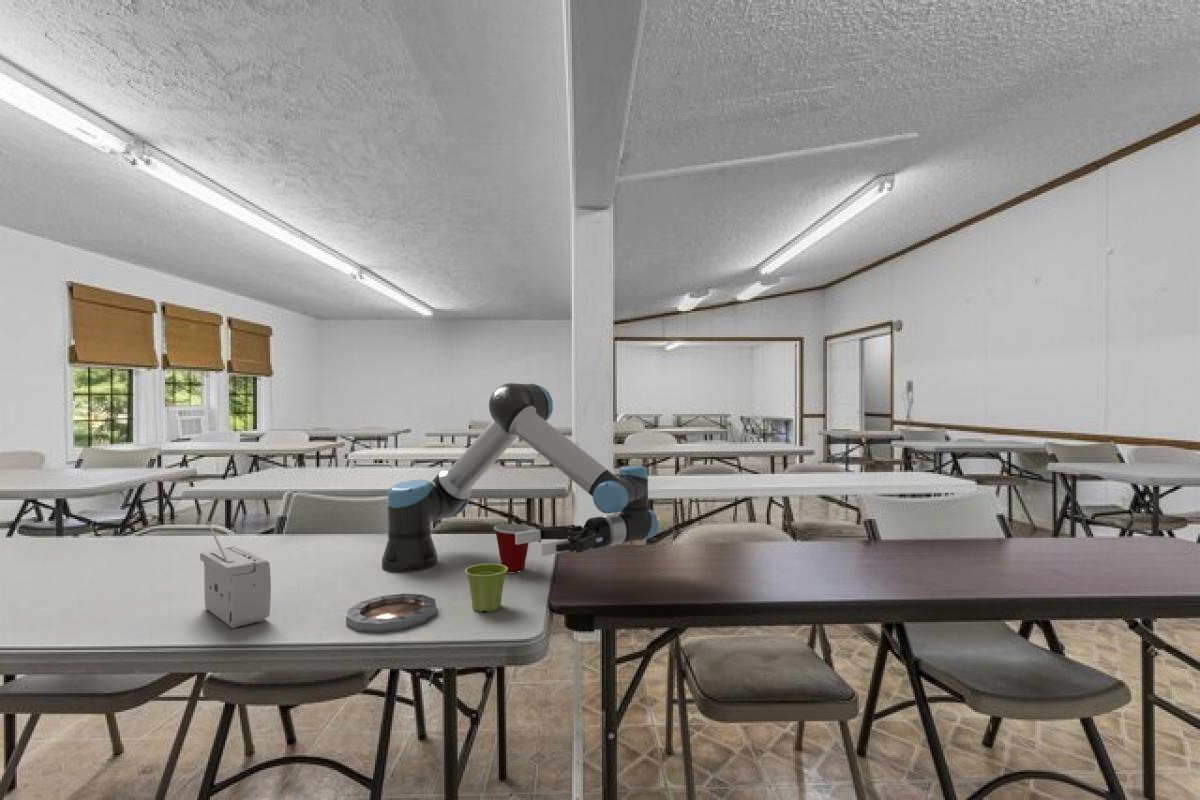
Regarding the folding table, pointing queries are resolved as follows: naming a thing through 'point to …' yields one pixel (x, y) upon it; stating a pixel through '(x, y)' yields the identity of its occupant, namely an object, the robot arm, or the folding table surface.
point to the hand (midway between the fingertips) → (528, 544)
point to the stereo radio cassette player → (236, 585)
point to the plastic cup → (511, 546)
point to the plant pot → (486, 585)
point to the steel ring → (391, 613)
